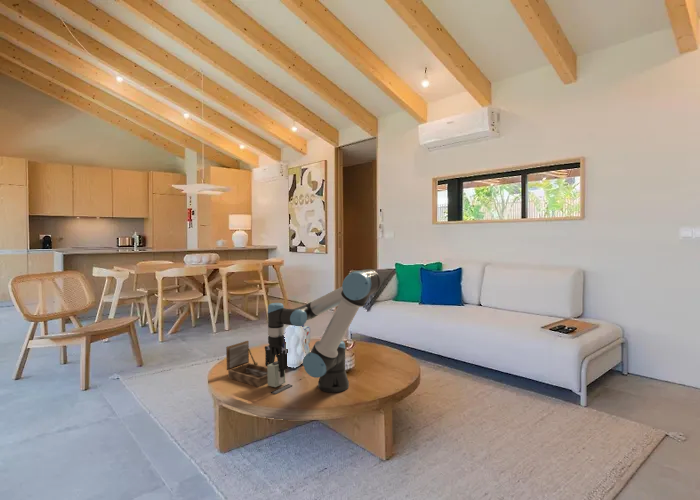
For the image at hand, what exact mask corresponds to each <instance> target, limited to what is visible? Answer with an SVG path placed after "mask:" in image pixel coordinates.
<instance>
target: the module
mask: <svg viewBox="0 0 700 500" xmlns="http://www.w3.org/2000/svg"><path fill="white" fill-rule="evenodd" d="M266 368H267V373H268V384H267V386H268V387H272V388H277V387H279V386H282V385H284V384H285V383H286V370H284V377H283V383H282V384H280V385H279V384H278V370H279V365H278V360H276V361H274V362H273V363H271V364H269V365H267V366H266Z"/></svg>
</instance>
